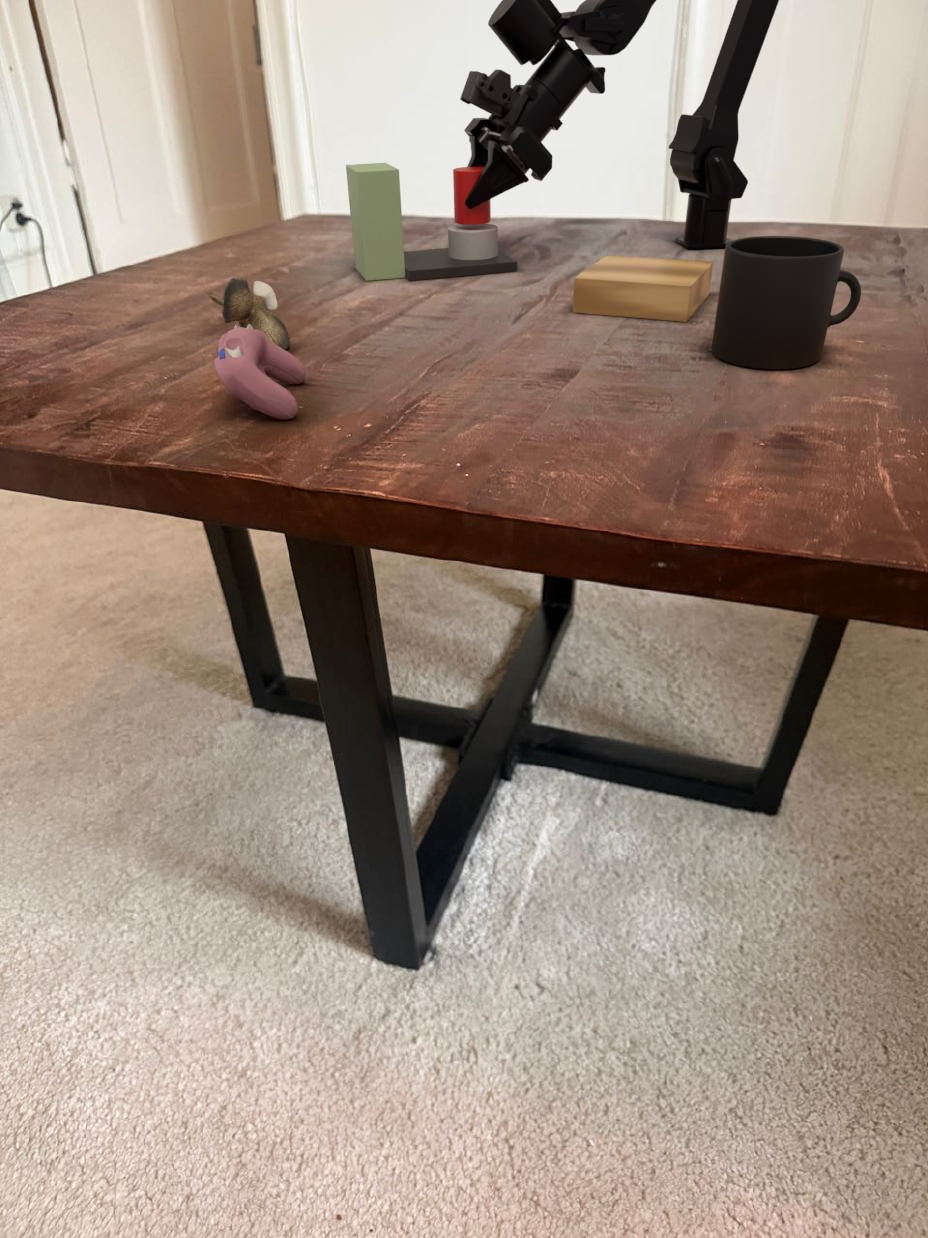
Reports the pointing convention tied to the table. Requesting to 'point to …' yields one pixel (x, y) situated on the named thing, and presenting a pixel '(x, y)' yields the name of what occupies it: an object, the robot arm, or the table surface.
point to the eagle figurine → (252, 309)
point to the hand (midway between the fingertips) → (461, 203)
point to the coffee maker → (383, 235)
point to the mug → (779, 300)
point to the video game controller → (258, 371)
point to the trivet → (643, 288)
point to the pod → (462, 187)
